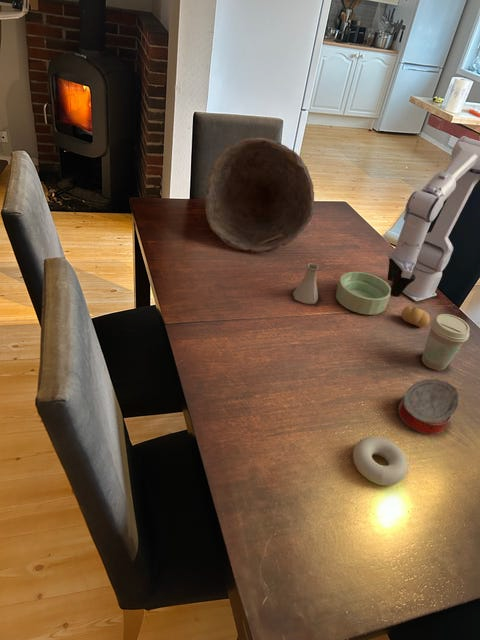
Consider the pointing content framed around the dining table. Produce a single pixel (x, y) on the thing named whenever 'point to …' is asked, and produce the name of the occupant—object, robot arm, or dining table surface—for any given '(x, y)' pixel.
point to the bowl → (259, 195)
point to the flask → (308, 286)
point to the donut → (376, 471)
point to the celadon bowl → (363, 293)
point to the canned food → (428, 405)
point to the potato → (415, 316)
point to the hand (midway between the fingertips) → (392, 288)
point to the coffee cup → (444, 340)
